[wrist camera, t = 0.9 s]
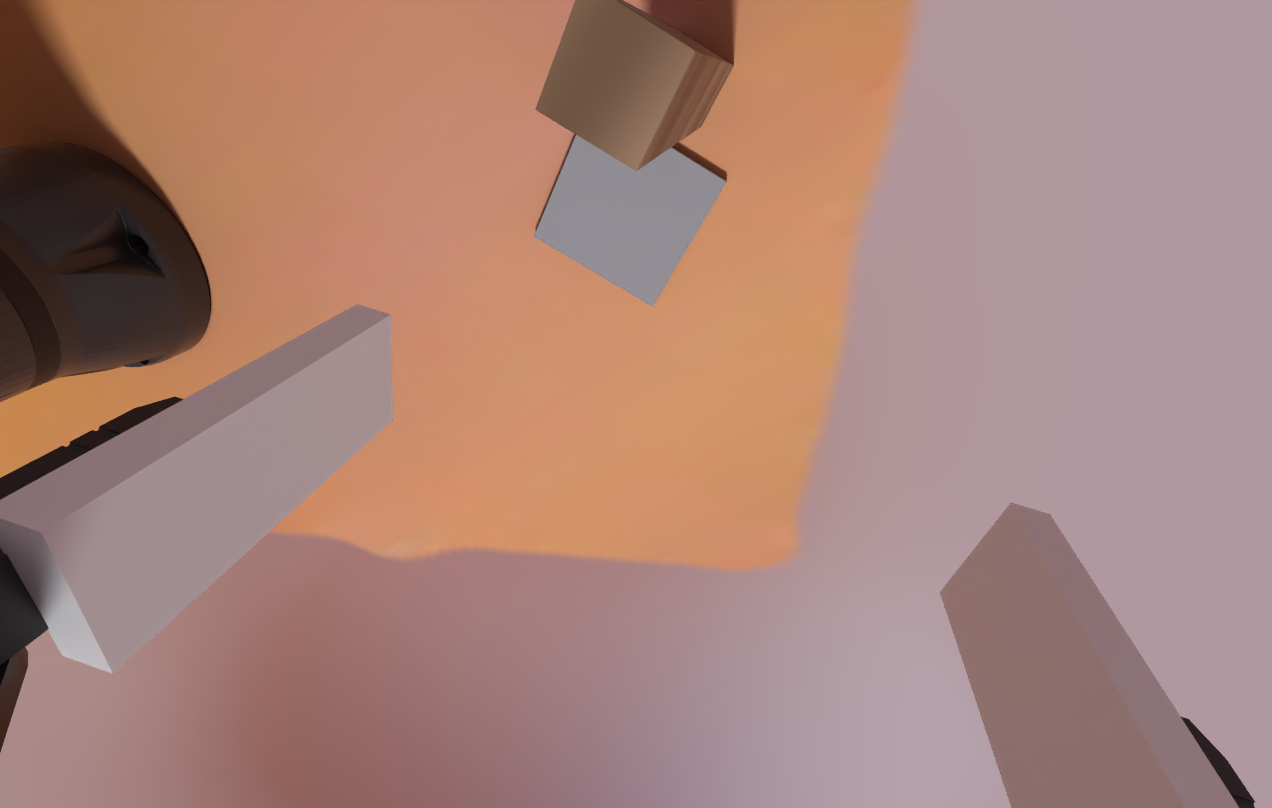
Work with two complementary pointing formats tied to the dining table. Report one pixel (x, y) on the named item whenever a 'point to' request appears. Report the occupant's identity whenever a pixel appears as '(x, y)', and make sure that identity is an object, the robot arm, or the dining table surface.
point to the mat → (628, 215)
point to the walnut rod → (629, 81)
